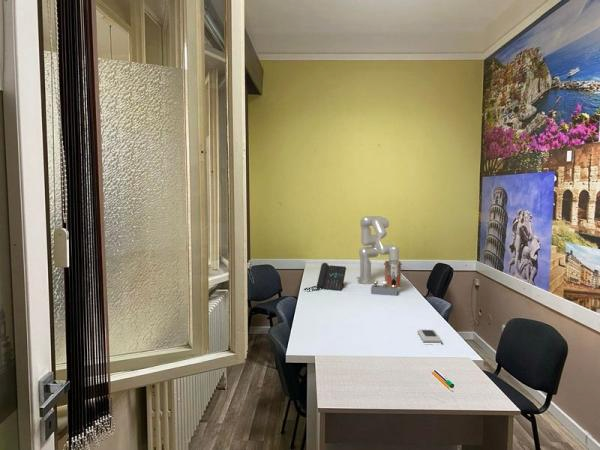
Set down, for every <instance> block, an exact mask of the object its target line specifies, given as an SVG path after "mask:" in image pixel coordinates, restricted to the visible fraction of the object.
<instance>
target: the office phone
mask: <svg viewBox="0 0 600 450" xmlns="http://www.w3.org/2000/svg"><path fill="white" fill-rule="evenodd" d="M320 265H321V266H320V270H319V274H318V278H317V283H316V285H313V286H311V287H309V288H313V287H315V288H313V289H307V288H308V287H305V288H304V289H303V291H304V290H306V289H307V290H309V291H308V292H311V291H310V290H314V291H315V290H316V291H320V290H328V289H329V291H340V292H341V291H342V290H343V287H345V284H344V281H345V275H346V272H347V267H346V266H345V265H344V266H343V265H341V266H340V265H329V264H328V262H323V263H321V264H320ZM316 288H317V289H316ZM320 288H321V289H320Z"/></svg>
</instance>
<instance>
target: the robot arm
mask: <svg viewBox="0 0 600 450" xmlns="http://www.w3.org/2000/svg"><path fill="white" fill-rule="evenodd" d="M371 227H372V228H373V230H374V233H375V234H372V228H371ZM389 227H390V221H389V220H388V219H387V218H386V217H383V216H379V215H367V216H362V218H361V219H360V228H361V229H360V230H361V234H360V235H361V236H360V242H361V245H362V246H363V247H361V248H360V249H359V251H358V254H359V269H360V270H359V276H357V277H356V280H357V281H358V283H359V284H362V285H371V284H373V281H374V280H372V261H371V260H370V259H371V258H377V257H378V256H379V254H380V255H382V256H384V255H385V256H386V255H388V261H389V264H391V277H392V285H396V277H397V276H398V264H399V261H400V247H399V246H397V245H393V244H384V245H383V244H382V242H381V240H382V239H384V238H385V237H387V235H388V233H387V230H386V229H387V228H389Z"/></svg>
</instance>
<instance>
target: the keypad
mask: <svg viewBox="0 0 600 450" xmlns="http://www.w3.org/2000/svg"><path fill="white" fill-rule="evenodd" d="M417 333H418V334H417V336H418V335H419V336H420V338H421V339H420V338H419V339H420V341H421V340H422V341H423V342H422V341H421V342H422V344H423V343H442V344H443V340H442V339H441V337H440V336H439V335H438V333H437V332H436V331H435V329H418V330H417ZM419 336H418V337H419Z"/></svg>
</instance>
